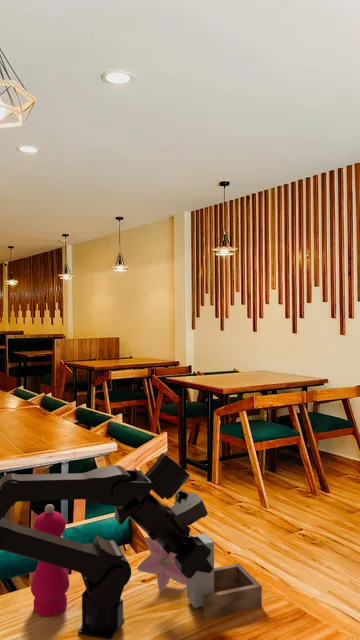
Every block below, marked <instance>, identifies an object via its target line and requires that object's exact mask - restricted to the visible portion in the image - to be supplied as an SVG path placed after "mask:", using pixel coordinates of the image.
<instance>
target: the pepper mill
mask: <svg viewBox="0 0 360 640" xmlns="http://www.w3.org/2000/svg"><path fill="white" fill-rule="evenodd" d="M33 529H35V530H38V531H41V532H45V533H48V534H51V535H55V536H58V537H61V538H64V536H63V534H64V533H65V531H66V519H65V517H64V515H63V514H61V513H60V512H58V511H56V510H55V506H54V505H53V504H51V503H50V504H47V505H46V506H44V512H41V513H40V514H39V515H38V516H37V517H36V518H35V519H34V523H33ZM37 561H38V560H37ZM69 588H70V578H69V574H68V569H66V568H63V567H59V566H56V565H52V564H49V563H45V562H42V561H38V563H37V566H36V569H35V571H34V573H33V575H32V577H31V582H30V592H31V594H32V596H34V598H33V612H34V613H35V614H37V615H38V616H41V617H52V616H56V615H59V614H60V613H62V612H63V611H65V610H66V608H67V607H68V595H67V594H66V593H67V592H68V590H69Z"/></svg>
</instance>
